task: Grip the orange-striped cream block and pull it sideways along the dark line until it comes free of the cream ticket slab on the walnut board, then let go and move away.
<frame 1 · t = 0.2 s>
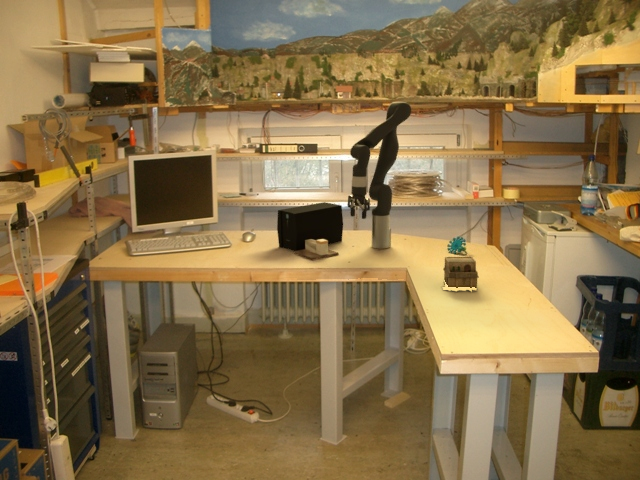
hand: (358, 217, 307), 18 cm above the table, tool pointing down, fingers open, 8 cm apart
orange-striped cream block: (322, 247, 301), point 5 cm above the table, slide at 0.0 cm
miniature house: (457, 287, 252), on the table
ticket board: (316, 254, 306), on the table
uninterruptible power supply: (312, 244, 327), on the table
teal spiky round piece: (457, 252, 305), on the table
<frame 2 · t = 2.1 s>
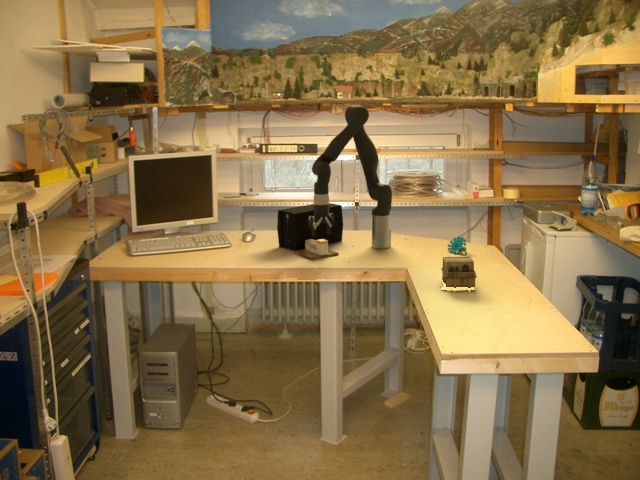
hand: (321, 235, 299), 11 cm above the table, tool pointing down, fingers open, 8 cm apart
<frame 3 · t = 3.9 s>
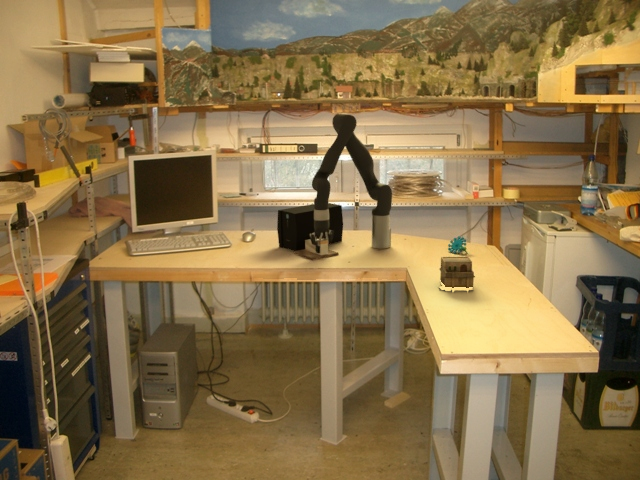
hand: (322, 252, 301), 2 cm above the table, tool pointing down, fingers closed on orange-striped cream block, 4 cm apart
orange-striped cream block: (322, 247, 301), point 5 cm above the table, slide at 0.0 cm, touching gripper
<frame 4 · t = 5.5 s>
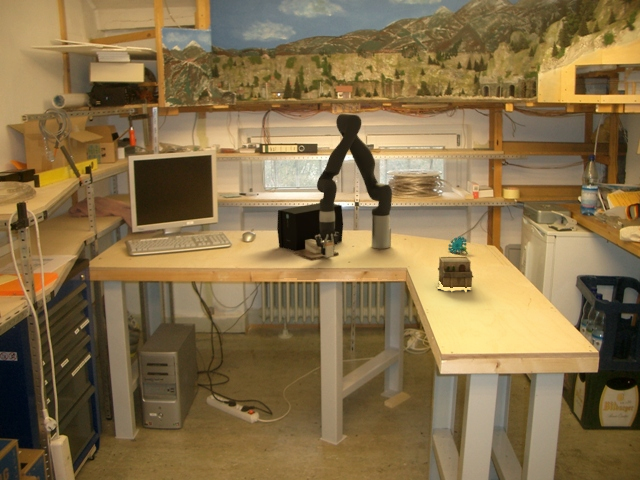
hand: (327, 254, 297), 2 cm above the table, tool pointing down, fingers closed on orange-striped cream block, 4 cm apart
orange-striped cream block: (327, 249, 297), point 5 cm above the table, slide at 4.8 cm, touching gripper
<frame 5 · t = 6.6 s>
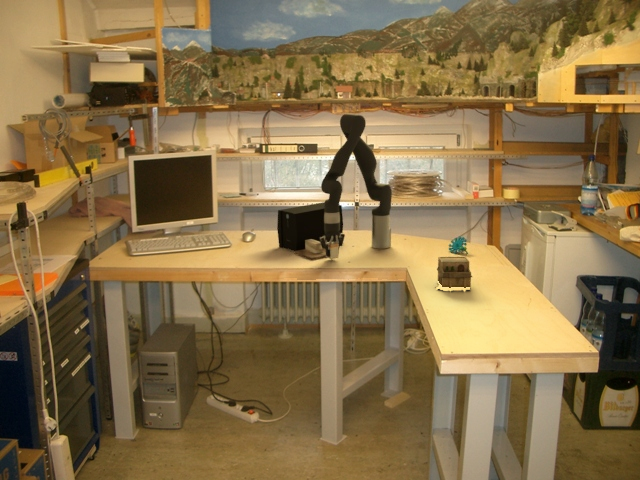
hand: (332, 255, 294), 2 cm above the table, tool pointing down, fingers closed on orange-striped cream block, 4 cm apart
orange-striped cream block: (332, 250, 294), point 5 cm above the table, slide at 8.8 cm, touching gripper
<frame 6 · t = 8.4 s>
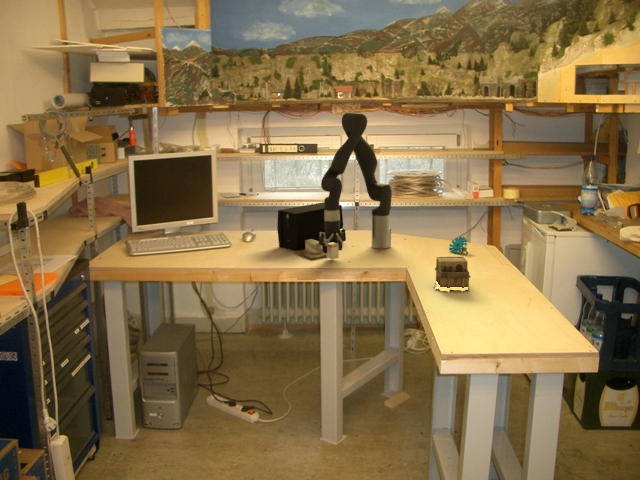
hand: (332, 251, 294), 4 cm above the table, tool pointing down, fingers open, 8 cm apart
orange-striped cream block: (332, 250, 294), point 5 cm above the table, slide at 8.9 cm
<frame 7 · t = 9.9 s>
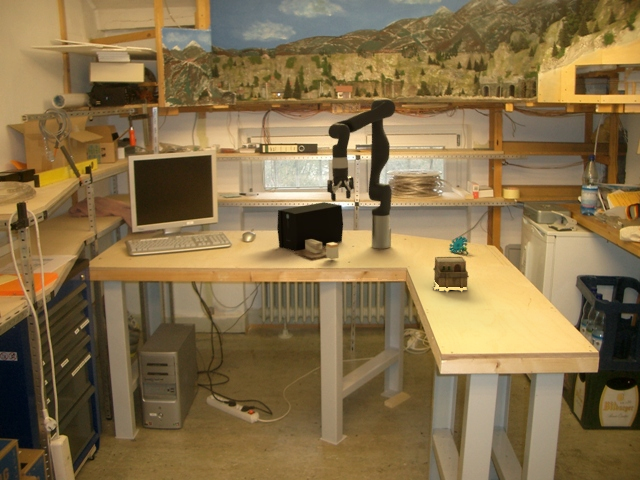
hand: (341, 199, 295), 28 cm above the table, tool pointing down, fingers open, 8 cm apart
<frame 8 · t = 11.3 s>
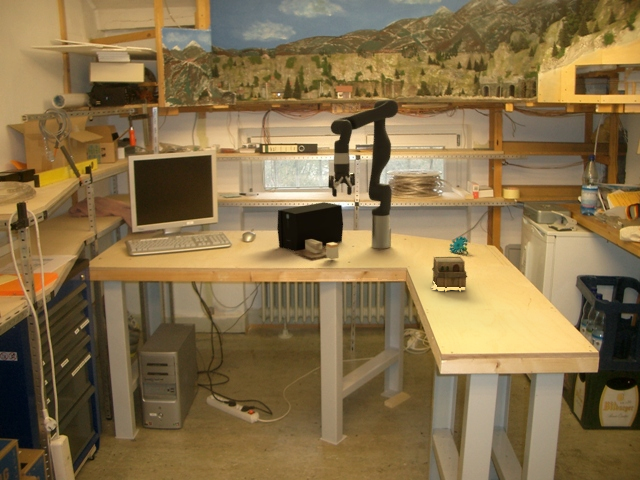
hand: (342, 195, 296), 30 cm above the table, tool pointing down, fingers open, 8 cm apart
at the end: orange-striped cream block slide at 8.9 cm; the gripper is holding nothing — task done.
